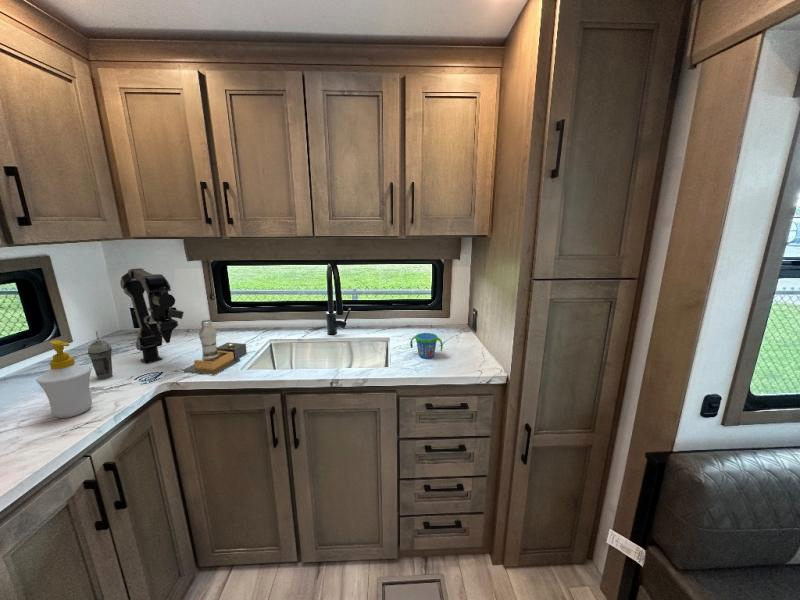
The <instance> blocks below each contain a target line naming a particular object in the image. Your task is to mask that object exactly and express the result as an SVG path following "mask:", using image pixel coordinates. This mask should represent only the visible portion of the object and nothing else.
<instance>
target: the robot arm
mask: <svg viewBox="0 0 800 600" xmlns="http://www.w3.org/2000/svg"><path fill="white" fill-rule="evenodd" d="M119 284H120V288H121V289H123V292H124V294H125V295H126V296H128V297H129V298H130V299H131V300H130V301H131V303H132V306H133V307H132V308H133V309H134V310H133V311H134V314H135V316H136V320H137V324H138V326H139V329H138V332H137V334H136V335H137V339H136V341H135V348H136V350H138V351H140V352H141V351H142V358H141V359H140V362H143V363H145V364H149V363H153V362H157V361H161V360H162V359H163V357H161V356H160V355H159V348H158V347H162V346H163V341H165V343H166V344H170V343H171V337H172V335H173V334H172V333H173V331H174V330H175V329H176V328H177V327H178V326H179V322H178V321H177V320H175V319H173V318H176V319H181V320H182V319H183V316H184V312H185V311H182V310H178V309H177V307H173V306H174V305H175V303H176V298H175V297H174V296H173V294H170V293H169V292H171V291H172V290H171V285H170V283H169V282H168V280H167V278H166V277H165V276H164V275H163V274H161V273H156V274H153V273H150V272H148V271H147V270H145V269H144V268H130V269H128V271H127V273H125V274H124V275H122V276H121V279H120V283H119ZM145 292H146V294H147V300H148V306H149V307H147V303H146V300H145V297H144V293H145ZM149 313H150V314H149Z"/></svg>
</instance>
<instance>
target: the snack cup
mask: <svg viewBox="0 0 800 600" xmlns="http://www.w3.org/2000/svg"><path fill="white" fill-rule="evenodd" d="M414 339H415V343H416V347H417V354H418V357H420V358H421V359H432V358H433V357H434V356H435V351H436V345H437V341H438V342H439V343H440V352H442V351H443V347H444V346H443V345H444V344H443V341H442V339H441V338H440V337H438V335H437V334H435V333H431V332H421V333H418V334H416V335H414V336H413V337H411V340H410V342H409V343H410V345H409V346H410V348H411V349H412V348H414V345H413V340H414Z"/></svg>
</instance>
